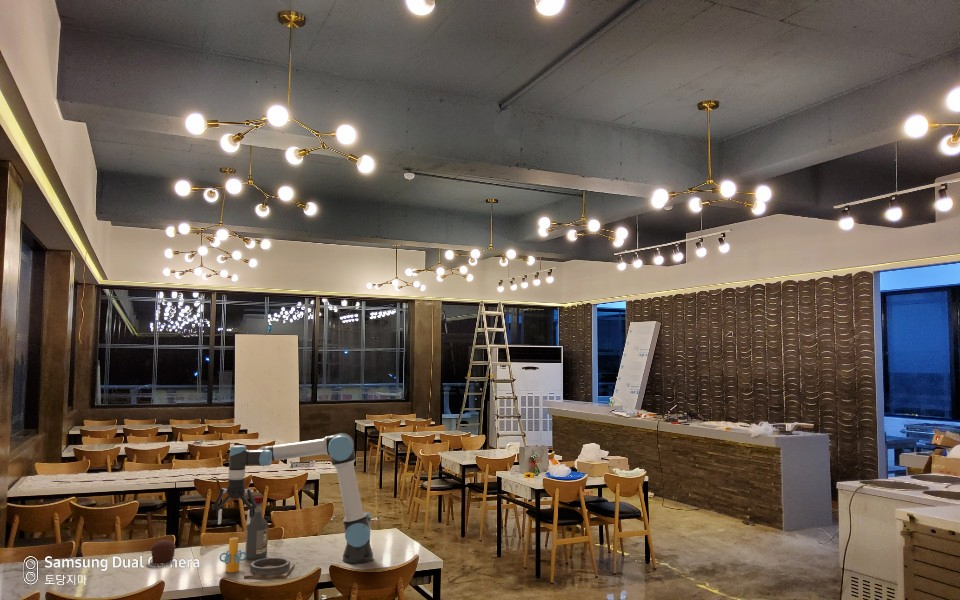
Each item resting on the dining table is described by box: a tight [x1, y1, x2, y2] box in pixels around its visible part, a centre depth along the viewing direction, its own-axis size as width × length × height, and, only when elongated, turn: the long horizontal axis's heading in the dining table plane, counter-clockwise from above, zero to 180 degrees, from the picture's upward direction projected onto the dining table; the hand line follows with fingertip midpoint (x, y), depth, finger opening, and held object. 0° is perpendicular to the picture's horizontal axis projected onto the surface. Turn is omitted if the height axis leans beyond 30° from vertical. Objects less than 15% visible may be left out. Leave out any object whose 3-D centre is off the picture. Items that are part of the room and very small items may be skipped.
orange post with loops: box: [219, 536, 247, 573], centre depth 322 cm, size 12×10×15 cm
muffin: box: [150, 539, 177, 565], centre depth 336 cm, size 12×11×10 cm
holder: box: [243, 557, 296, 579], centre depth 320 cm, size 19×19×4 cm
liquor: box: [244, 495, 269, 561], centre depth 346 cm, size 9×9×30 cm
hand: (234, 523), depth 323 cm, fingers open, 13 cm apart
